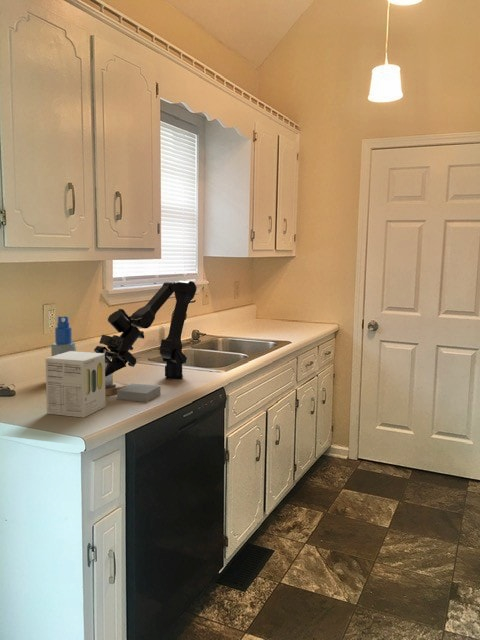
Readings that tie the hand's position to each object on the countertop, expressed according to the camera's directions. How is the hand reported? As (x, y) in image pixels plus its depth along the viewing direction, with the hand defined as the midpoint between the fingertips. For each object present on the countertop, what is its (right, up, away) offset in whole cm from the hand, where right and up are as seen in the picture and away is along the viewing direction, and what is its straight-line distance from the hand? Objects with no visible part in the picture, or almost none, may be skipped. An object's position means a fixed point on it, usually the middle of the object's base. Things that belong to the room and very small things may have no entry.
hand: (101, 374), depth 188 cm
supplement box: (-2, -9, -20) cm, 22 cm away
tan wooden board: (+2, -6, +3) cm, 7 cm away
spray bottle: (-19, -4, +19) cm, 27 cm away
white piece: (+1, -3, +1) cm, 4 cm away
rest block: (+14, -7, -3) cm, 16 cm away
